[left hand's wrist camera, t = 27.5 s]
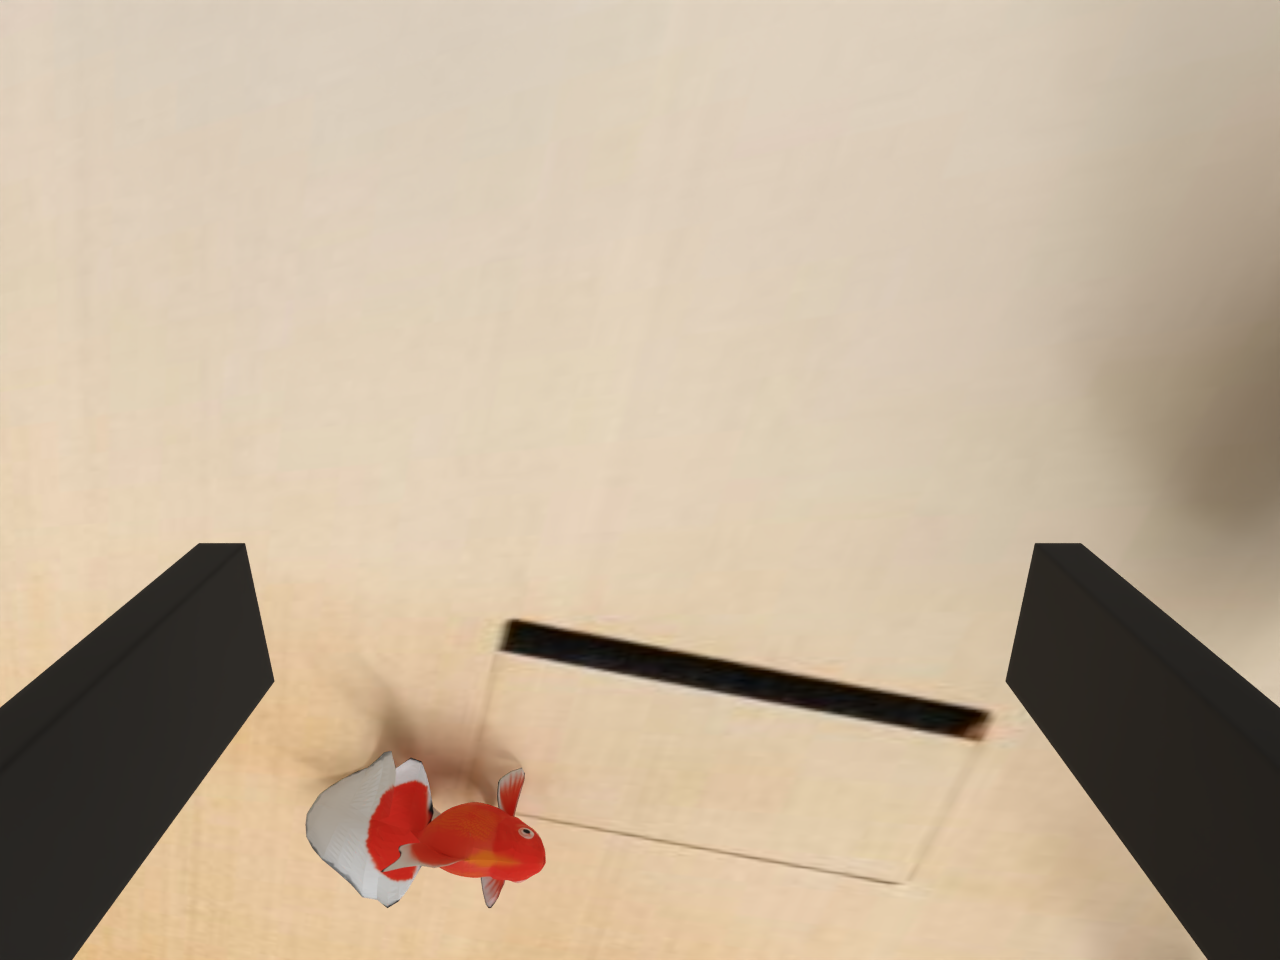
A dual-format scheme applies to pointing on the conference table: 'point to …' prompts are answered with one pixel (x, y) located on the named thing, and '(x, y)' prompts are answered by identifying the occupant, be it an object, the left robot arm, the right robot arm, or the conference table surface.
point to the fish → (419, 832)
